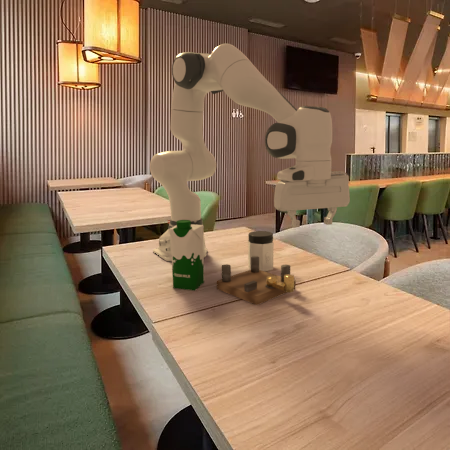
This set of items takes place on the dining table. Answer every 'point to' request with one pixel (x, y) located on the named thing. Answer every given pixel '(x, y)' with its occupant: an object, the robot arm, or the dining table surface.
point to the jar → (261, 249)
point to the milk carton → (187, 255)
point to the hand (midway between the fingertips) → (312, 225)
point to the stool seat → (251, 283)
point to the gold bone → (287, 285)
